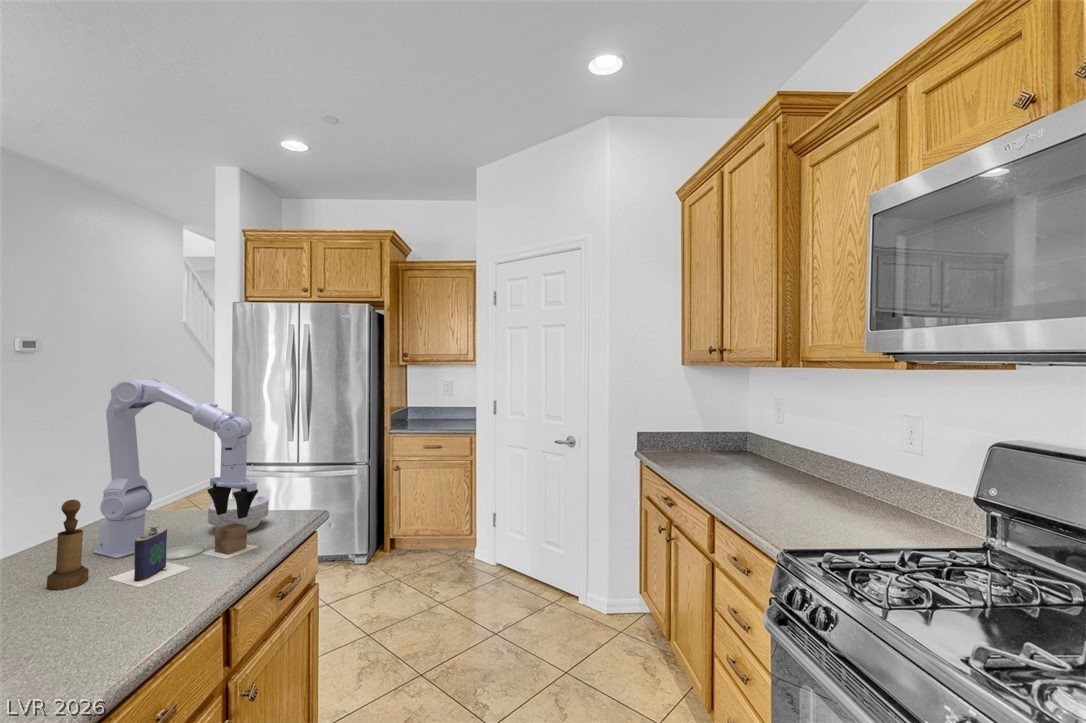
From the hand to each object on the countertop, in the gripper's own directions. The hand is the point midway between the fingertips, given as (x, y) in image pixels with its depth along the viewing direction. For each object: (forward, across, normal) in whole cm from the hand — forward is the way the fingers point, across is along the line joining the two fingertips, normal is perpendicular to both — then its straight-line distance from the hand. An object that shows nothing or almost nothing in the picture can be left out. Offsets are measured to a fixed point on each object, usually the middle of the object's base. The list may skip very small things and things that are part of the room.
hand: (231, 515), depth 127 cm
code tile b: (+9, 0, 0) cm, 9 cm away
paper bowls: (+9, -14, +13) cm, 21 cm away
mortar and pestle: (+9, -14, -27) cm, 32 cm away
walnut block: (+9, 0, 0) cm, 9 cm away
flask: (+9, -3, -17) cm, 19 cm away
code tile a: (+9, -3, -17) cm, 19 cm away
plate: (+9, -9, -6) cm, 14 cm away
